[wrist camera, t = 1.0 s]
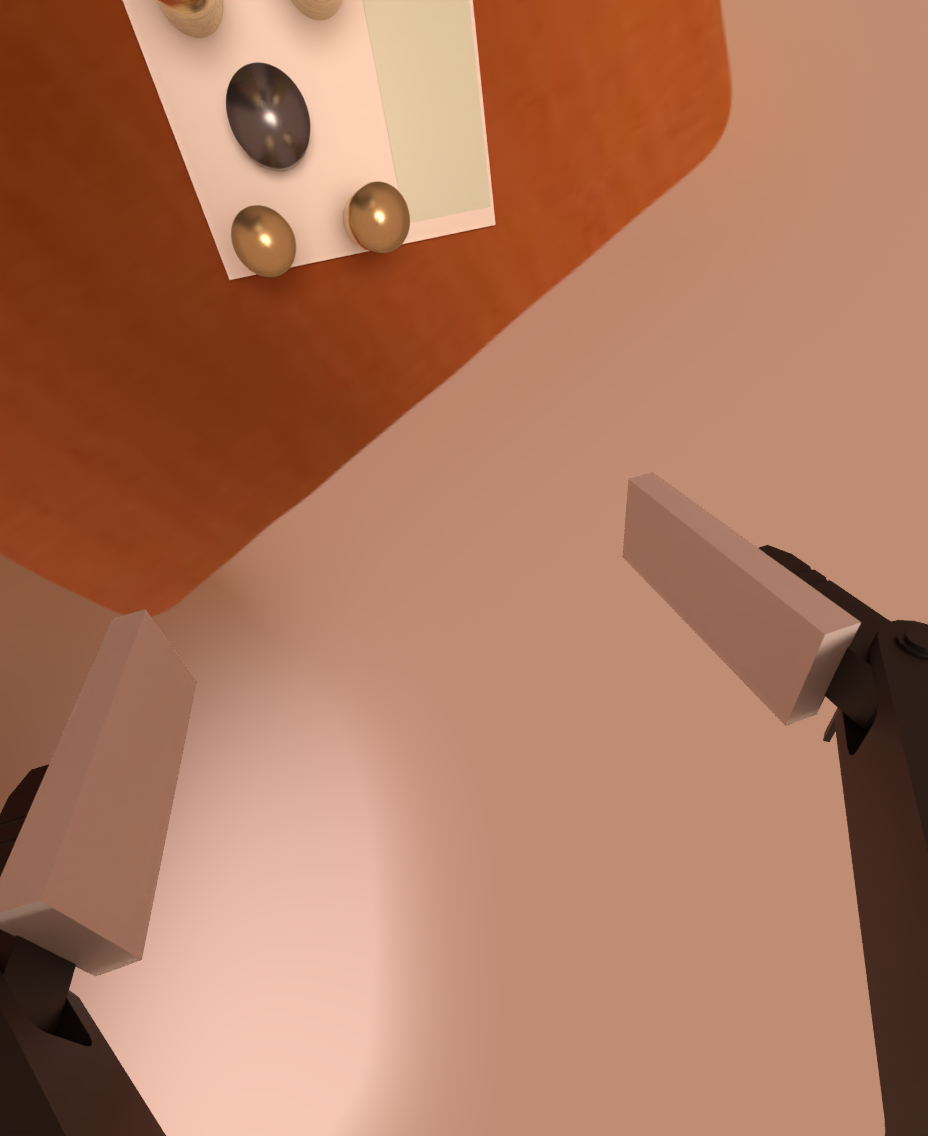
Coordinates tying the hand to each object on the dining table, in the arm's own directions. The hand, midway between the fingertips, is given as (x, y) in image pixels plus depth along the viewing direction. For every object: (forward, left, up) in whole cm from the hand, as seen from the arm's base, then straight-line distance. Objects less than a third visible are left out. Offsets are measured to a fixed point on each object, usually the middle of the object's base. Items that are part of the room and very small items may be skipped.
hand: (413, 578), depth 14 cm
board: (-13, +3, -26) cm, 30 cm away
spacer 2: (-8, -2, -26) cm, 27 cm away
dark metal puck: (-13, 0, -26) cm, 29 cm away
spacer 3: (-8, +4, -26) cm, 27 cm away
